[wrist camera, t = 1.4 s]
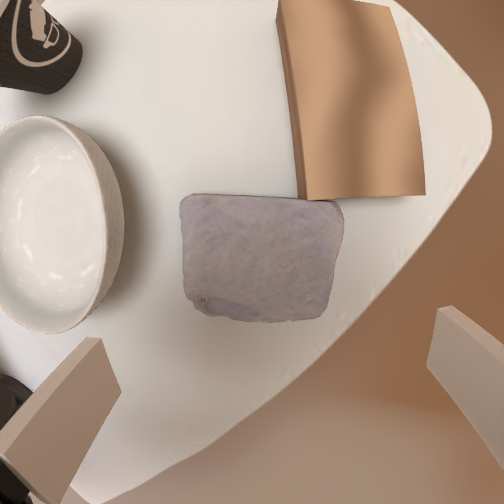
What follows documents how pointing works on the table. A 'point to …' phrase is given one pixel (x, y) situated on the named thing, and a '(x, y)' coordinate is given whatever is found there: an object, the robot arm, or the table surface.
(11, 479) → the robot arm
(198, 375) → the table surface
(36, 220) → the cereal bowl
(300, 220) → the stone block
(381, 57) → the walnut plinth
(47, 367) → the table surface
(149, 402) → the table surface
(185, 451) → the table surface
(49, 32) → the coffee cup
